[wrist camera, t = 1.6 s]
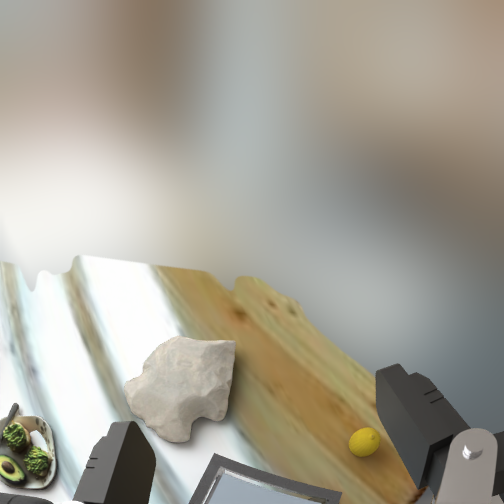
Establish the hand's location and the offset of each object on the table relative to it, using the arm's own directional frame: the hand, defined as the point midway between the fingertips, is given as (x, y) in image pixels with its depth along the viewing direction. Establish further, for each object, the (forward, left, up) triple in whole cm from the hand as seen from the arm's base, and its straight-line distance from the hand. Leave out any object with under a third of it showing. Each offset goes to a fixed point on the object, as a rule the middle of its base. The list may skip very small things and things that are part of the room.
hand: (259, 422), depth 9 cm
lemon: (+18, -18, -51) cm, 57 cm away
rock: (+19, +17, -51) cm, 57 cm away
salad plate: (-14, +40, -51) cm, 66 cm away
